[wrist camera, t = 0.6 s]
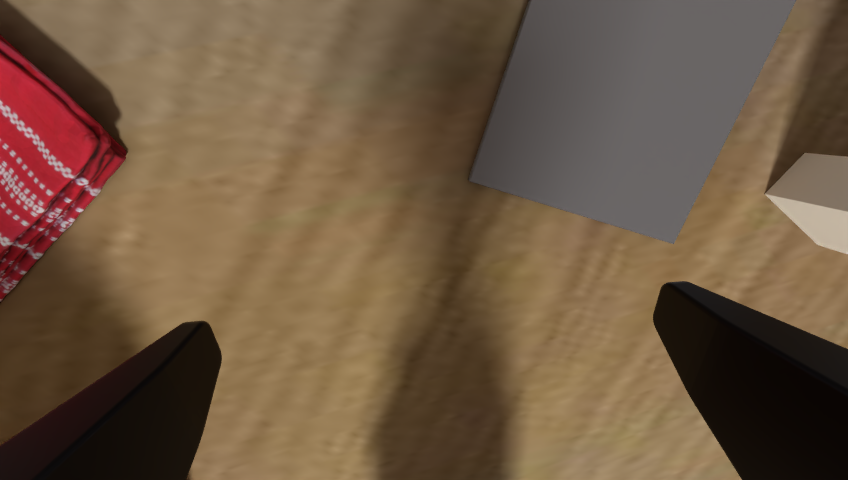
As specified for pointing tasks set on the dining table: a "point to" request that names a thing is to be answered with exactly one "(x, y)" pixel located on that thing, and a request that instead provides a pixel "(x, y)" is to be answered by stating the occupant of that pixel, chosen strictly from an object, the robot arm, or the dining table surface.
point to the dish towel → (43, 163)
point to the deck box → (816, 198)
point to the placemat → (623, 104)
